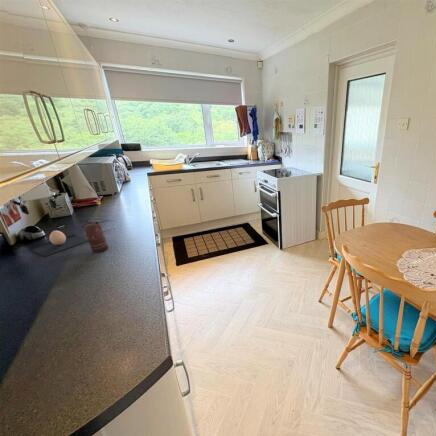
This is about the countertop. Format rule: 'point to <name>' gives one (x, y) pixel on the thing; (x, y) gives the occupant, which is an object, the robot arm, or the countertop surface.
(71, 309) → the countertop surface
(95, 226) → the can
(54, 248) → the placemat
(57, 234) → the egg
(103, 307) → the countertop surface
